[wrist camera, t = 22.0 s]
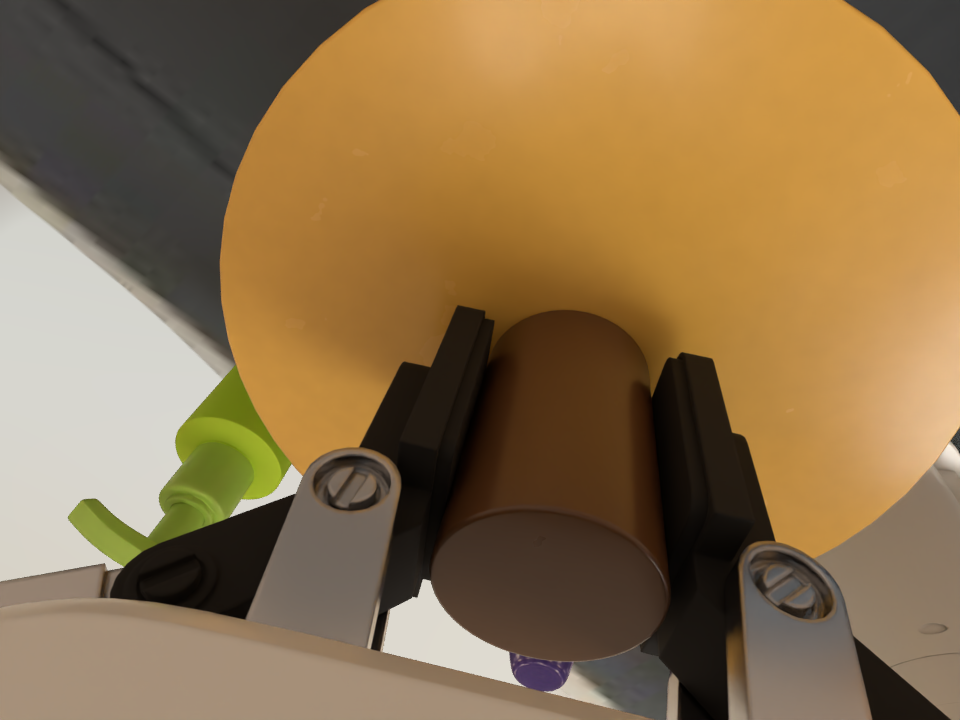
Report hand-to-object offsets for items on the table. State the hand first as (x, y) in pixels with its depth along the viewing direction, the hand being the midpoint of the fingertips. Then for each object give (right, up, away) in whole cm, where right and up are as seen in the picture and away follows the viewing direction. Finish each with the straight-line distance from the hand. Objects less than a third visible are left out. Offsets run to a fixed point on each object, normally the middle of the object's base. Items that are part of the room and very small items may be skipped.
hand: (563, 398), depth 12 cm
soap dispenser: (-13, +3, +31) cm, 34 cm away
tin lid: (0, +1, +1) cm, 1 cm away
